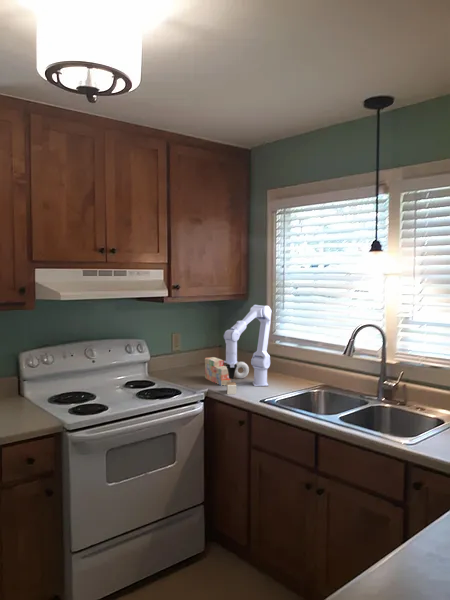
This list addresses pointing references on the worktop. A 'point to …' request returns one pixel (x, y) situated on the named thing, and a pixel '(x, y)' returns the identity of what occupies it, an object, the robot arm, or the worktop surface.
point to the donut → (245, 370)
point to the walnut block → (231, 388)
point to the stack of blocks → (216, 371)
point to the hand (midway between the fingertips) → (231, 378)
